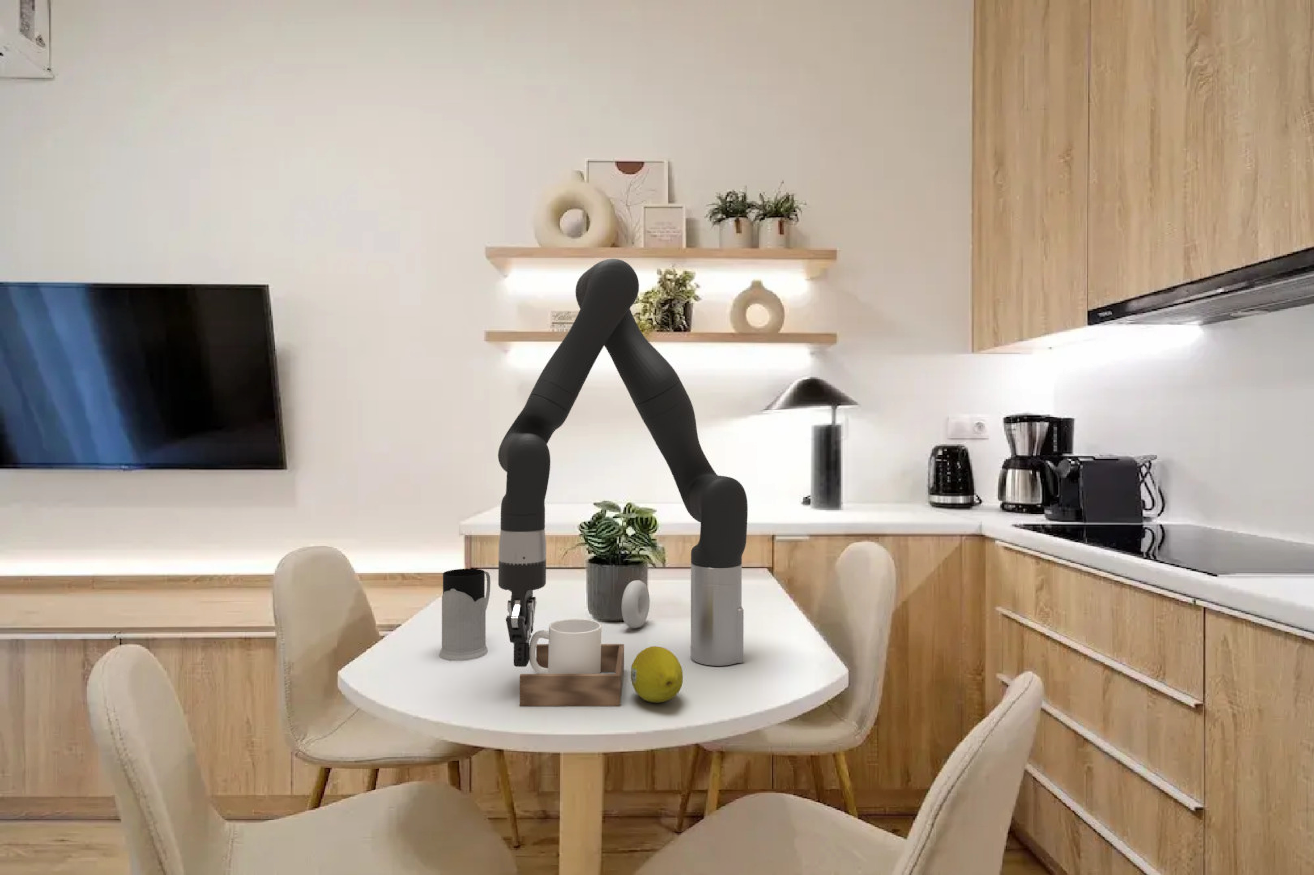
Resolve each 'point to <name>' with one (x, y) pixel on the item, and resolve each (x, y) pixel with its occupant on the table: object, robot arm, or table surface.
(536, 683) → the wooden box
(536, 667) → the cup
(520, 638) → the robot arm
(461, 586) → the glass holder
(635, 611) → the donut
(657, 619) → the table surface
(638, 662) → the lemon
